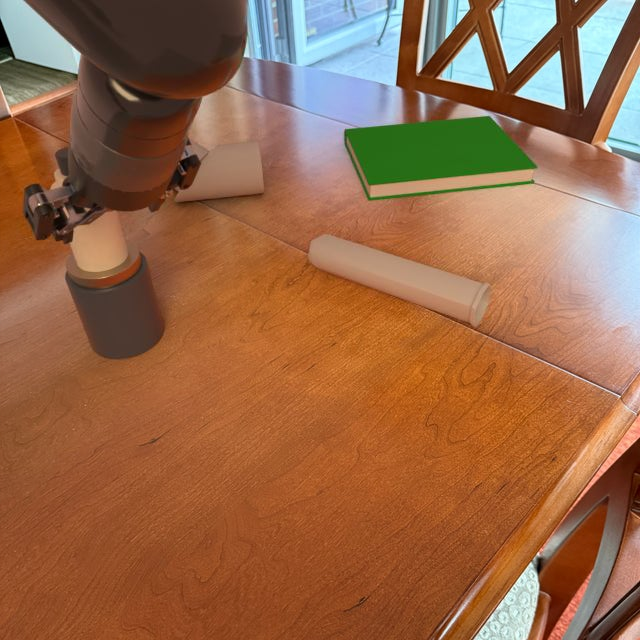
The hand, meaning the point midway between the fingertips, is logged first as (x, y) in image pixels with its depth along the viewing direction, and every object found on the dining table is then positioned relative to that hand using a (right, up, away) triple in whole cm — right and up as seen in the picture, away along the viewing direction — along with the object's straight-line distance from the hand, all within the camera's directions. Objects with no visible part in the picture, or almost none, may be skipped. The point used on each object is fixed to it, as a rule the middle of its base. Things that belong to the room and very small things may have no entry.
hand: (107, 217), depth 56 cm
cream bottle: (-4, -3, +10) cm, 12 cm away
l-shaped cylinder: (0, +13, +47) cm, 49 cm away
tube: (+29, -6, +23) cm, 38 cm away
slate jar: (-4, -11, +18) cm, 22 cm away
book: (+40, +19, +51) cm, 67 cm away
